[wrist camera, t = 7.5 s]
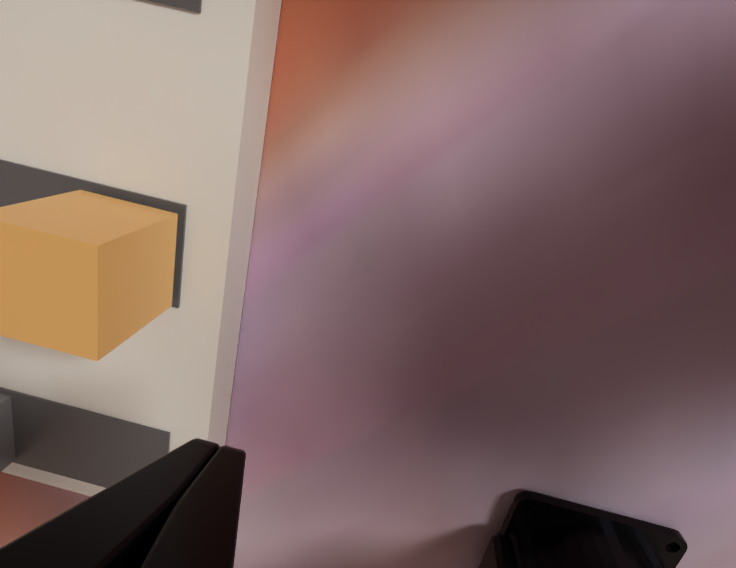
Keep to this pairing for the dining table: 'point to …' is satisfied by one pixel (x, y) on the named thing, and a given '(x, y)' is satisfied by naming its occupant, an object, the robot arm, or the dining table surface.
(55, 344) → the handle
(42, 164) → the breaker panel
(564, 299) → the dining table surface
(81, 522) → the robot arm
